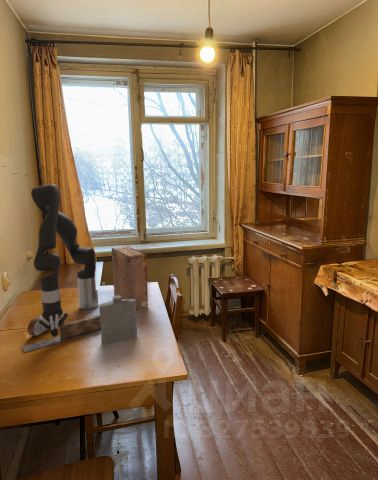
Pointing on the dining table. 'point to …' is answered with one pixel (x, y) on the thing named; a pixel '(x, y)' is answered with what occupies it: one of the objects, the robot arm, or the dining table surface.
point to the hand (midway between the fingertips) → (54, 336)
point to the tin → (37, 326)
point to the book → (130, 275)
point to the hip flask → (118, 320)
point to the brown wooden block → (79, 327)
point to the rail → (53, 341)
